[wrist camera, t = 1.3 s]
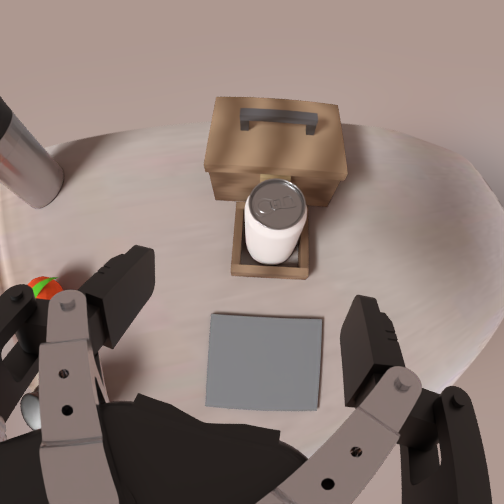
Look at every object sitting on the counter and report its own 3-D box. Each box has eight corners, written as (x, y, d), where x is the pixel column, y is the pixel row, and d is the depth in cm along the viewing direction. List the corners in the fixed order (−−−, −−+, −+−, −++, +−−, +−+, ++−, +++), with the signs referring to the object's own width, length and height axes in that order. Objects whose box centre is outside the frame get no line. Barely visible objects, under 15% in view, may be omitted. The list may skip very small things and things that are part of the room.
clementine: (64, 268, 39) (37, 255, 32) (86, 300, 37) (59, 291, 31) (36, 302, 37) (7, 294, 30) (56, 336, 36) (27, 332, 29)
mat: (206, 405, 33) (205, 406, 33) (211, 314, 37) (211, 313, 36) (315, 409, 33) (317, 410, 33) (320, 319, 37) (322, 319, 36)
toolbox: (205, 274, 39) (184, 242, 27) (221, 138, 45) (214, 81, 33) (330, 280, 38) (364, 252, 26) (324, 145, 45) (342, 90, 33)
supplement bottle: (60, 400, 33) (8, 410, 21) (77, 368, 34) (25, 371, 23) (92, 431, 32) (45, 452, 20) (111, 399, 33) (63, 415, 22)
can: (240, 227, 41) (236, 182, 29) (286, 216, 41) (297, 169, 30) (253, 271, 39) (253, 241, 27) (300, 259, 39) (319, 225, 28)
